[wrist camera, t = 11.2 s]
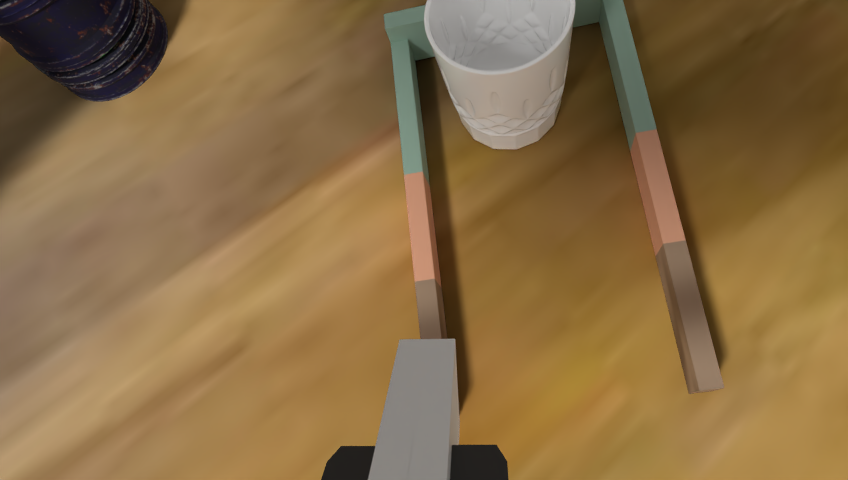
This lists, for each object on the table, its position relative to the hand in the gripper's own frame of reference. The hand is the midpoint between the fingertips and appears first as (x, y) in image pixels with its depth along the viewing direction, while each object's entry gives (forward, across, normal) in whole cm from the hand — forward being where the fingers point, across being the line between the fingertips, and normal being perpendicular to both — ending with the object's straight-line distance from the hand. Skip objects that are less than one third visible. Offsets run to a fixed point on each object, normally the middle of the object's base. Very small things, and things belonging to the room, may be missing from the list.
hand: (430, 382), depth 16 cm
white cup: (+28, +4, +3) cm, 28 cm away
